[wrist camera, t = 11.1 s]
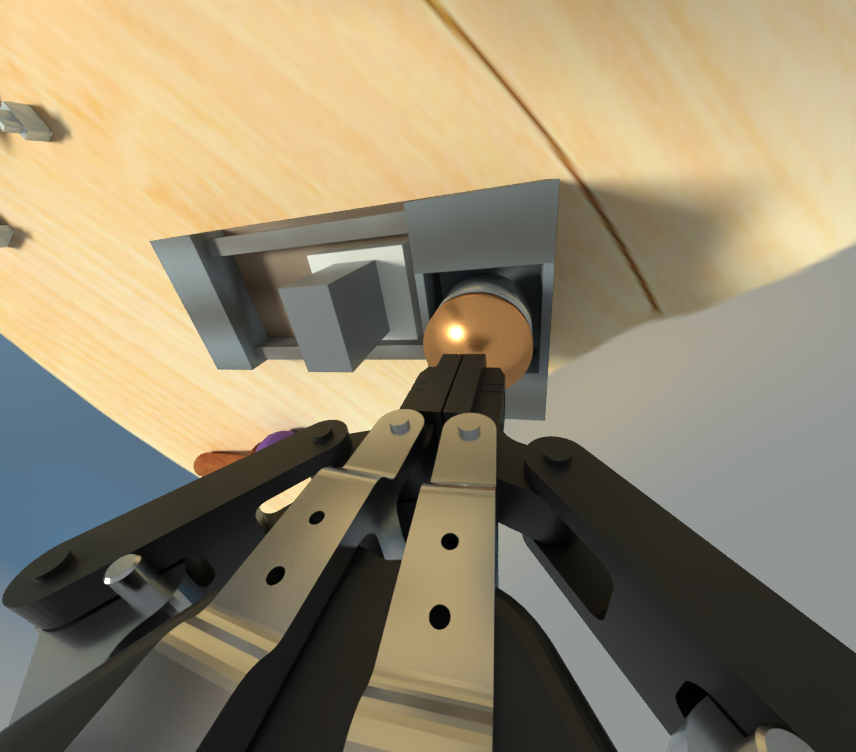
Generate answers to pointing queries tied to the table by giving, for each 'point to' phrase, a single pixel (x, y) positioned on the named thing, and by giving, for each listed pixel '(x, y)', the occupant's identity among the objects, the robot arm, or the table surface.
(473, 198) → the grey stepped base
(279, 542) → the robot arm
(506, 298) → the button
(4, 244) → the paper cutter
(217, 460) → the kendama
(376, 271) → the carriage
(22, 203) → the table surface
